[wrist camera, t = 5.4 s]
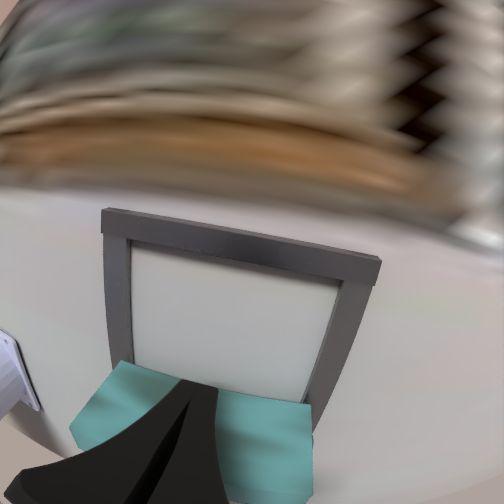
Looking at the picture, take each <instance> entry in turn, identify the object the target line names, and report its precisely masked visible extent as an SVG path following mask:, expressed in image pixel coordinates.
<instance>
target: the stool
mask: <svg viewBox="0 0 504 504" xmlns="http://www.w3.org/2000/svg"><path fill="white" fill-rule="evenodd" d="M180 380H182V379H178V378H175V377H171V376H168V375H165V374H161V373H158V372H155V371H152V370H149V369H145V368H142V367H139V366H136V365H133V364H131V363H128V362H125V361H122V360H121V361H120V362H119V363H118V365H117V366H116V367H115V368H114V370H113V371H112V372H111V373H110V375H109V376H108V377H107V378H106V380H105V381H104V382H103V383H102V385H101V386H100V387H99V388H98V390H97V391H96V392H95V394H94V395H93V396H92V397H91V399H90V400H89V401H88V403H87V404H86V405H85V406H84V408H83V409H82V410H81V412H80V413H79V414H78V415H77V417H76V418H75V419H74V421H73V422H72V423H71V425H70V426H69V429H70V431H71V433H72V435H73V438H74V440H75V442H76V444H77V446H78V448H80V449H82V450H84V451H87V450H89V449H91V448H93V447H95V446H97V445H99V444H101V443H103V442H105V441H107V440H108V439H110V438H112V437H113V436H115V435H117V434H118V433H120V432H121V431H123V430H124V429H126V428H127V427H129V426H130V425H131V424H133V423H134V422H135V421H137V420H138V419H139V418H141V417H142V416H143V415H144V414H146V413H147V412H148V411H149V410H150V409H151V408H152V407H154V406H155V405H156V404H157V403H158V402H159V401H160V400H161V399H162V398H163V397H165V396H166V395H167V394H168V393H169V392H170V391H171V390H172V388H173V387H174V386H175V385H176V384H177V383H178V382H179V381H180ZM217 389H218V388H217ZM218 390H219V393H218V401H217V408H216V416H215V440H216V449H217V456H218V462H219V468H220V473H221V477H222V481H223V485H224V489H225V492H226V496H227V499H228V500H230V501H235V502H241V503H246V504H305V503H306V502H307V501H308V500H309V499H310V497H311V496H312V495H313V435H312V418H311V405H309V404H301V403H294V402H287V401H280V400H274V399H268V398H262V397H256V396H251V395H246V394H241V393H236V392H231V391H226V390H222V389H218Z"/></svg>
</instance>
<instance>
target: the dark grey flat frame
mask: <svg viewBox="0 0 504 504" xmlns="http://www.w3.org/2000/svg"><path fill="white" fill-rule="evenodd" d="M101 233H103V263H104V290H105V306H106V319H107V329H108V338H109V347H110V354H111V362H112V368H113V370H114V368H115V367H116V366H117V365H118V363H119V362H120V361H121V360H122V361H125V362H128V363H131V364H133V365H134V359H133V346H132V330H131V307H130V247H131V239H133V240H138V241H143V242H148V243H153V244H157V245H162V246H167V247H172V248H177V249H182V250H188V251H193V252H198V253H203V254H208V255H213V256H218V257H223V258H228V259H233V260H239V261H244V262H249V263H254V264H259V265H265V266H270V267H275V268H281V269H286V270H291V271H296V272H302V273H307V274H313V275H318V276H323V277H329V278H334V279H340V280H342V281H341V284H340V288H339V291H338V295H337V298H336V301H335V305H334V308H333V311H332V315H331V318H330V321H329V324H328V327H327V330H326V334H325V337H324V340H323V343H322V346H321V349H320V351H319V354H318V357H317V360H316V363H315V366H314V369H313V371H312V374H311V377H310V379H309V382H308V385H307V387H306V390H305V393H304V395H303V398H302V400H301V404H309V405H311V418H312V433H313V431H314V430H315V428H316V426H317V424H318V422H319V420H320V418H321V415H322V413H323V411H324V409H325V407H326V405H327V403H328V401H329V399H330V396H331V394H332V392H333V390H334V388H335V385H336V383H337V381H338V378H339V376H340V374H341V371H342V369H343V367H344V364H345V362H346V359H347V357H348V354H349V352H350V349H351V347H352V344H353V342H354V339H355V336H356V334H357V331H358V328H359V325H360V323H361V320H362V317H363V314H364V311H365V308H366V305H367V302H368V299H369V296H370V293H371V290H372V287H373V286H375V283H376V280H377V277H378V274H379V270H380V267H381V263H382V260H381V259H380V258H379V257H378V256H374V255H369V254H364V253H359V252H354V251H349V250H344V249H339V248H334V247H329V246H324V245H319V244H314V243H309V242H304V241H298V240H293V239H288V238H283V237H277V236H272V235H267V234H261V233H256V232H250V231H245V230H239V229H234V228H228V227H223V226H217V225H212V224H206V223H200V222H194V221H189V220H183V219H177V218H171V217H165V216H159V215H153V214H147V213H141V212H135V211H129V210H122V209H116V208H110V207H109V208H105V209H102V211H101Z"/></svg>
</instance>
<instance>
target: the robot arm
mask: <svg viewBox="0 0 504 504" xmlns="http://www.w3.org/2000/svg"><path fill="white" fill-rule="evenodd" d="M218 393H219V390H218V389H217V388H216V387H212V386H208V385H203V384H199V383H195V382H192V381H188V380H184V379H182V380H180V381H179V382H178V383H177V384H176V385H175V386H174V387H173V388H172V390H171V391H170V392H169V393H168V394H167V395H166V396H165V397H163V398H162V399H161V400H160V401H159V402H158V403H157V404H156V405H155V406H154V407H152V408H151V409H150V410H149V411H148V412H147V413H146V414H144V415H143V416H142V417H141V418H139V419H138V420H137V421H135V422H134V423H133V424H131V425H130V426H129V427H127V428H126V429H124V430H123V431H121V432H120V433H118V434H117V435H115V436H113V437H112V438H110V439H108V440H107V441H105V442H103V443H101V444H99V445H97V446H95V447H93V448H91V449H89V450H87V451H85V452H83V453H80V454H78V455H75V456H73V457H70V458H67V459H64V460H61V461H58V462H55V463H52V464H48V465H43V466H39V467H34V468H29V469H24V470H22V471H21V472H20V473H19V474H18V475H17V476H16V477H15V478H14V480H13V481H12V482H11V484H10V485H9V487H8V488H7V489H6V491H5V492H4V497H6V499H8V500H9V501H10V502H11V503H12V504H229V502H228V499H227V496H226V492H225V489H224V485H223V481H222V477H221V473H220V468H219V462H218V456H217V449H216V440H215V416H216V408H217V401H218ZM19 400H21V401H22V402H24V403H25V404H26V405H28V406H29V407H31V408H32V409H34V410H35V411H39V410H40V406H39V404H38V401H37V399H36V397H35V394H34V392H33V389H32V387H31V384H30V382H29V379H28V376H27V374H26V371H25V368H24V365H23V362H22V359H21V356H20V353H19V350H18V347H17V344H16V342H15V340H14V339H13V338H12V337H10V336H9V335H7V334H5V333H4V332H2V331H1V330H0V420H1V419H2V418H3V417H4V416H5V415H6V414H7V413H8V412H9V411H10V410H11V409H12V408H13V407H14V406H15V405H16V403H17V402H18V401H19ZM0 504H2V503H1V502H0Z"/></svg>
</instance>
